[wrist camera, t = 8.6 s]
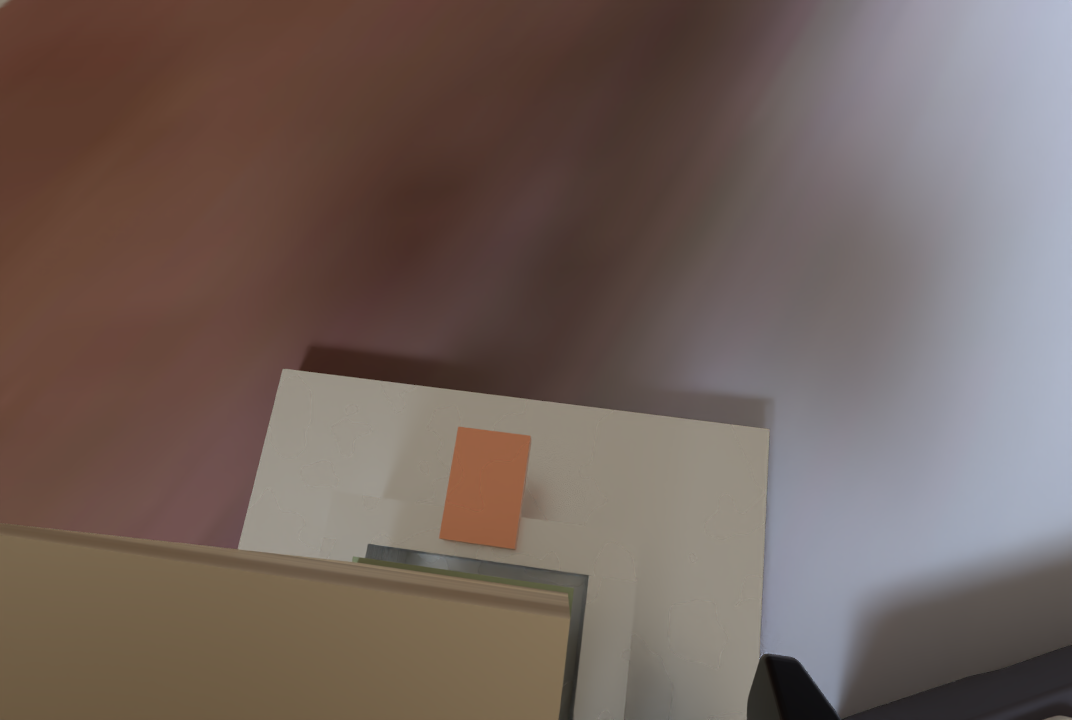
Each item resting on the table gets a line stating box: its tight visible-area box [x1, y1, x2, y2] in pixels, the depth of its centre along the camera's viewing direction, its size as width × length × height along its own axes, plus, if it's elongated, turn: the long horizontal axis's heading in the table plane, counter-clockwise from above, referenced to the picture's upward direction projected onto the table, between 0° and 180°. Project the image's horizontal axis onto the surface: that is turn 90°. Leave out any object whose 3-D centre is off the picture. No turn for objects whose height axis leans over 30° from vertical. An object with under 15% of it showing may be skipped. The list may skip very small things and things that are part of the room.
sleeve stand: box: [238, 369, 770, 720], centre depth 17 cm, size 14×14×6 cm
